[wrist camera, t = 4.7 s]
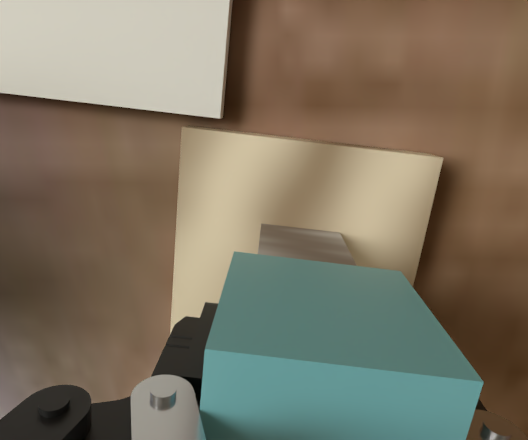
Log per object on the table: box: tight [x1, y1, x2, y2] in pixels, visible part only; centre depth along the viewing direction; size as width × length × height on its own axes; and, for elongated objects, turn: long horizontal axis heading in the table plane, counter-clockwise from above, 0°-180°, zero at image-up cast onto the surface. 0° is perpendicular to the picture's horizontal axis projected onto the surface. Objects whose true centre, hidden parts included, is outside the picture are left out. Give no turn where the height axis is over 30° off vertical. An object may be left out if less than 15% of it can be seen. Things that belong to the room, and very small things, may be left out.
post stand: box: [170, 125, 443, 334], centre depth 14 cm, size 11×11×12 cm
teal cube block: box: [199, 251, 484, 440], centre depth 10 cm, size 5×5×5 cm
